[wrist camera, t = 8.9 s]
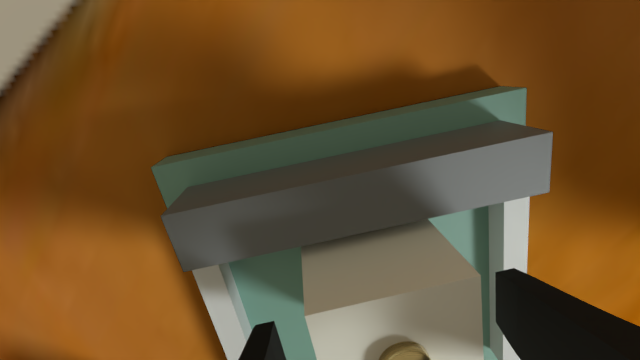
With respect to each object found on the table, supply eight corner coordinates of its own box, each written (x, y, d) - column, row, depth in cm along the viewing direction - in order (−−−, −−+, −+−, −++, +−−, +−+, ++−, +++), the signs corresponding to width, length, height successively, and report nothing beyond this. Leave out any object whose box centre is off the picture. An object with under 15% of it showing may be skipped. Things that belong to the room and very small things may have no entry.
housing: (409, 199, 12) (492, 288, 7) (419, 289, 14) (495, 416, 9) (299, 223, 12) (305, 332, 7) (322, 311, 14) (340, 453, 9)
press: (500, 86, 13) (587, 91, 9) (499, 353, 18) (556, 428, 14) (166, 156, 13) (113, 192, 9) (261, 407, 18) (252, 498, 14)
